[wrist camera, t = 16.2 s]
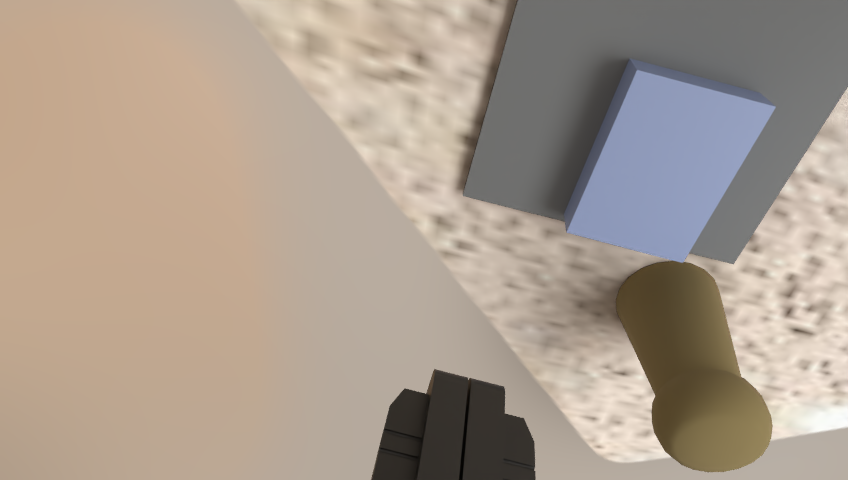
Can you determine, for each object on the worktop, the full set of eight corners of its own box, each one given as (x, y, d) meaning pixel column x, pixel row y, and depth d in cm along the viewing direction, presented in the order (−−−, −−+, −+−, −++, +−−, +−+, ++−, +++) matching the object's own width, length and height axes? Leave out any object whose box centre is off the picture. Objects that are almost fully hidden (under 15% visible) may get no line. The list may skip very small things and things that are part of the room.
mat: (888, 8, 25) (896, 11, 24) (730, 258, 33) (733, 264, 32) (539, -79, 25) (540, -78, 25) (463, 190, 33) (462, 195, 32)
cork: (689, 244, 33) (758, 386, 23) (737, 311, 35) (817, 466, 25) (597, 291, 35) (626, 435, 26) (646, 351, 37) (689, 504, 28)
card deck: (629, 58, 27) (760, 92, 27) (563, 214, 32) (674, 243, 32) (637, 70, 25) (776, 106, 25) (566, 232, 30) (682, 263, 30)
